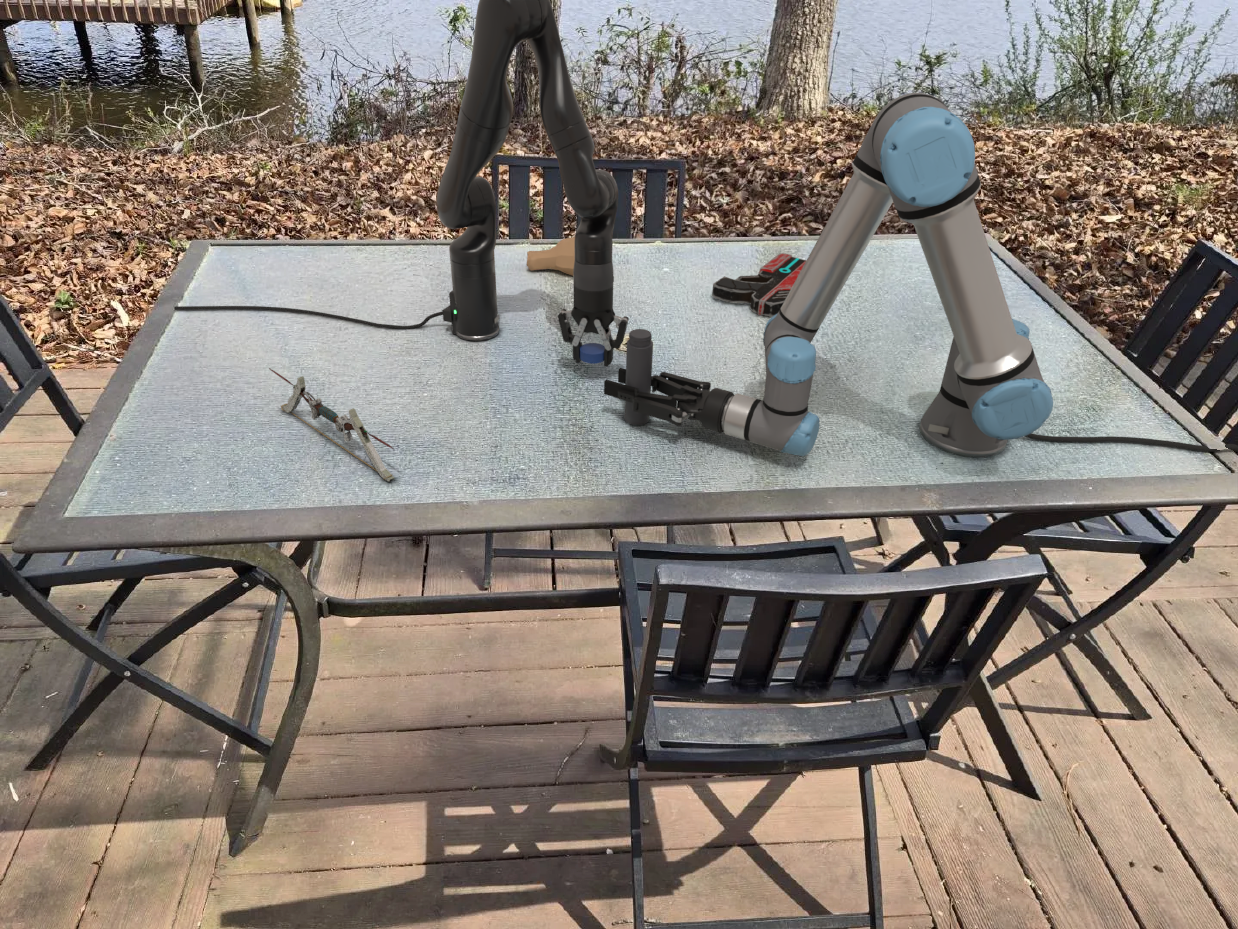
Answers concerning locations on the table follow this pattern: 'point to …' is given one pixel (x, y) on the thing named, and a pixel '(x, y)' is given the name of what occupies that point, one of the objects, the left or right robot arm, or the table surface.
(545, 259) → the squash
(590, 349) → the lid
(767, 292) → the gun
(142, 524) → the table surface
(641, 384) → the dark grey bottle
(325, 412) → the bow
